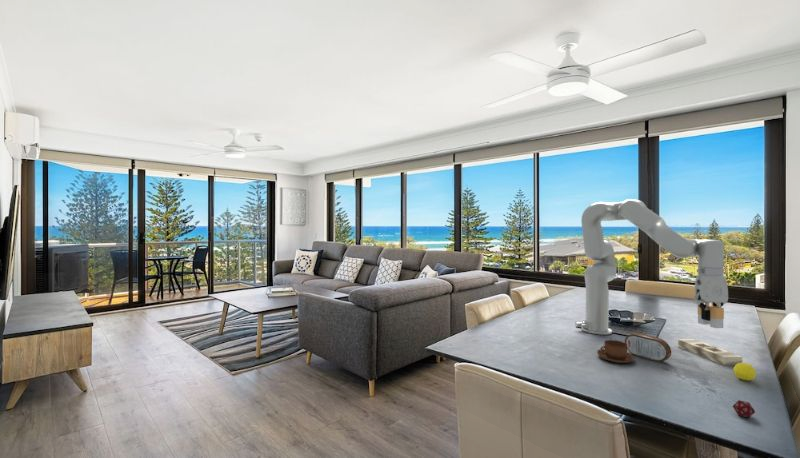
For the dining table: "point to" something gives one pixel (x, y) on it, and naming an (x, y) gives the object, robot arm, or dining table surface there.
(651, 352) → the tin
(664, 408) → the dining table surface
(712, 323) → the light orange block
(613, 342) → the cup and saucer
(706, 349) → the rail
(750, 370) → the lemon
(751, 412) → the dice
